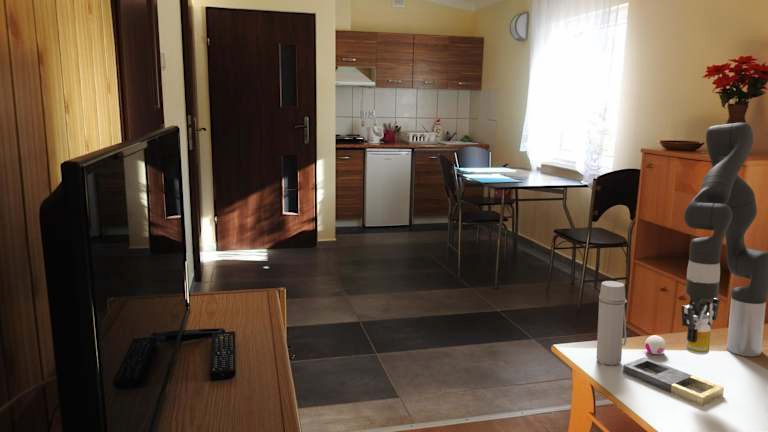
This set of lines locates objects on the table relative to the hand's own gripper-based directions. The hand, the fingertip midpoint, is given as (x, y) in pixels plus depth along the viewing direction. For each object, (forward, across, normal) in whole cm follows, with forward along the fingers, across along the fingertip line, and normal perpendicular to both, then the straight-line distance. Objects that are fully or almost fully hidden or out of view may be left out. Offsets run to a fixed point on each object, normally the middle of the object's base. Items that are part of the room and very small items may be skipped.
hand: (698, 338), depth 150 cm
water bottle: (+16, +1, -25) cm, 30 cm away
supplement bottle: (+4, 0, 0) cm, 4 cm away
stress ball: (+16, -15, -22) cm, 31 cm away
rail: (+16, 0, -7) cm, 17 cm away
